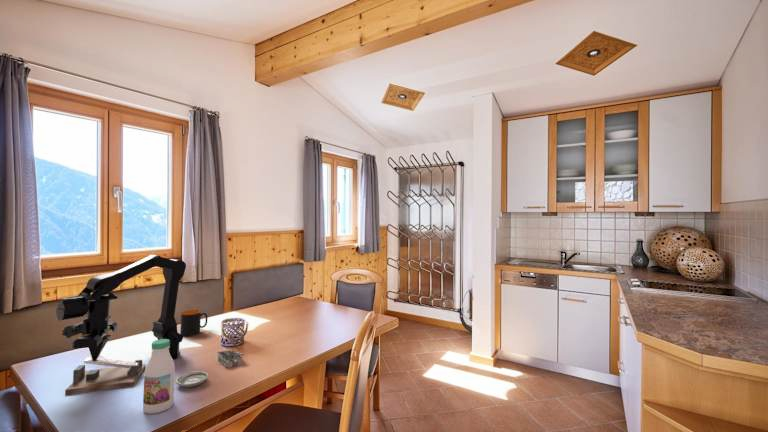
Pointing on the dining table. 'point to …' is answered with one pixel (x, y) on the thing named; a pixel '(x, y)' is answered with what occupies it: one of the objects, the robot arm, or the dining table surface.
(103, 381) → the base
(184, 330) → the mug
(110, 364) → the bar
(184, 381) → the saucer
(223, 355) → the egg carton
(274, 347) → the dining table surface
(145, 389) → the milk bottle
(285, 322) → the dining table surface
